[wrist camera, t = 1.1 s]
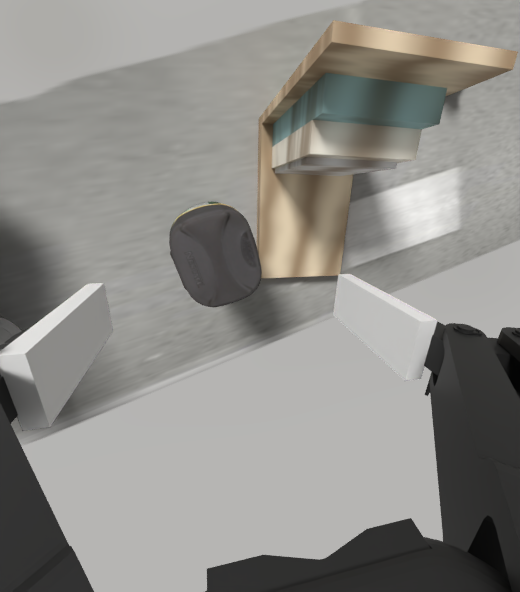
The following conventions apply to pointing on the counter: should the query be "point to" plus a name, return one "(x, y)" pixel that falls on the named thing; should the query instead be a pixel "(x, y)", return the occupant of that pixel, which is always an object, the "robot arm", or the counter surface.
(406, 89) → the shelf
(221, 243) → the coffee jar
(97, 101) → the counter surface
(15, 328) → the glass holder
